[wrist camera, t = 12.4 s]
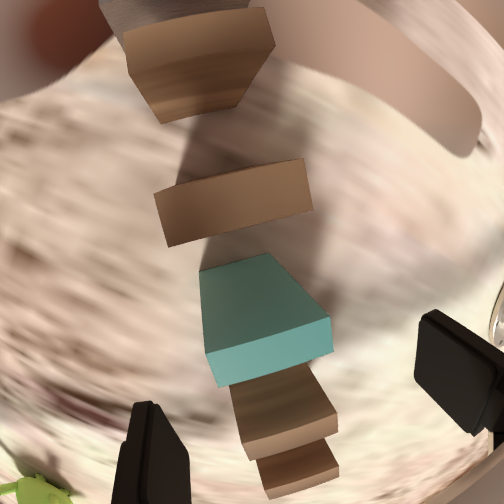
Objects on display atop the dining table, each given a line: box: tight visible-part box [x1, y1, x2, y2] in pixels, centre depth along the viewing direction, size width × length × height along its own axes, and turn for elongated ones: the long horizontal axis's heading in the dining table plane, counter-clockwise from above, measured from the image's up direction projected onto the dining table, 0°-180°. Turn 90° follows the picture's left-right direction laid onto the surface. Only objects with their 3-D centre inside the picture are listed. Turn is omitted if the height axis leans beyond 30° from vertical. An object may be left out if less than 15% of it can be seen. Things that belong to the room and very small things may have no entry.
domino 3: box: [199, 253, 334, 388], centre depth 16 cm, size 2×5×10 cm, turn 103°
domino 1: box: [123, 7, 276, 124], centre depth 12 cm, size 2×5×10 cm, turn 102°
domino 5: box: [256, 438, 339, 500], centre depth 19 cm, size 2×5×10 cm, turn 103°
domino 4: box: [229, 362, 338, 461], centre depth 18 cm, size 2×5×10 cm, turn 102°
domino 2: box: [154, 159, 313, 248], centre depth 14 cm, size 2×5×10 cm, turn 103°
